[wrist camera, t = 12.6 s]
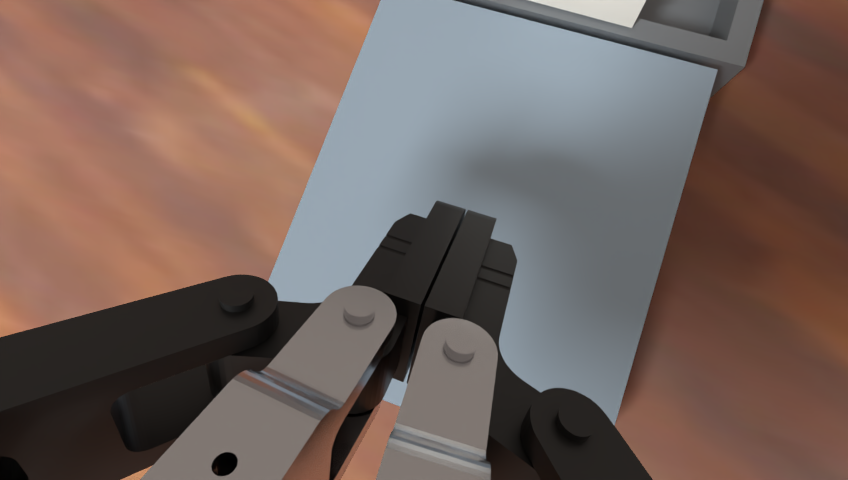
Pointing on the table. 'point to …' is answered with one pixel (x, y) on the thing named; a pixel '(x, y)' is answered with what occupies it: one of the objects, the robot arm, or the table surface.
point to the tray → (662, 29)
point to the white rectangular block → (601, 9)
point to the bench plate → (510, 176)
